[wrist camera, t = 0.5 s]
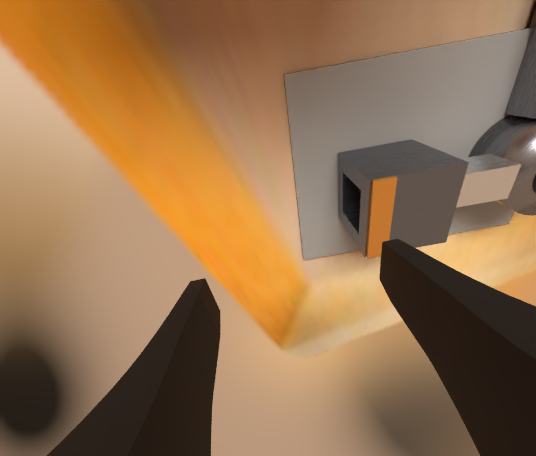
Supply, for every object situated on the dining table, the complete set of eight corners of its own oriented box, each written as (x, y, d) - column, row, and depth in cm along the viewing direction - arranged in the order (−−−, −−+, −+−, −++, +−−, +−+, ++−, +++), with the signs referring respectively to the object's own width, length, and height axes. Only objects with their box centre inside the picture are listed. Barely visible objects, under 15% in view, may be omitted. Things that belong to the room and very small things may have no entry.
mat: (594, 15, 14) (600, 14, 14) (505, 221, 22) (509, 223, 21) (283, 74, 14) (284, 74, 14) (303, 257, 22) (303, 260, 22)
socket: (411, 139, 17) (472, 163, 12) (401, 204, 19) (448, 243, 15) (337, 152, 17) (371, 181, 12) (338, 216, 19) (365, 258, 15)
